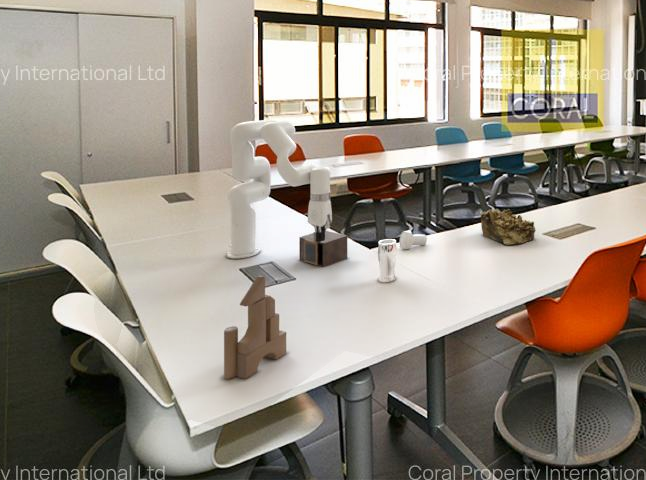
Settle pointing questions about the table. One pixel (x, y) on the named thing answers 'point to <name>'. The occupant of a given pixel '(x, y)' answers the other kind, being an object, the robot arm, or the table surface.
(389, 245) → the beer glass
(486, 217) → the mineral
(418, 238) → the spotlight
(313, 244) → the sliding door
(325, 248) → the cabinet
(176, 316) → the table surface
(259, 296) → the wooden toy
